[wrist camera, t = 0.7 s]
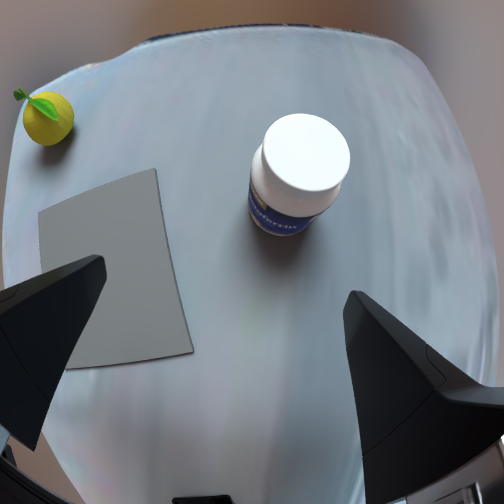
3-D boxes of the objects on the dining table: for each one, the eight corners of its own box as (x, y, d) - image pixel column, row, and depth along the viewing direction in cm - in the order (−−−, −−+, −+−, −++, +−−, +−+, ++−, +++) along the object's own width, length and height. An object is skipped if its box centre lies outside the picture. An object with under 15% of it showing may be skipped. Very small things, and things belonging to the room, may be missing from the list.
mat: (194, 350, 21) (192, 351, 20) (66, 367, 20) (62, 368, 19) (156, 170, 23) (154, 167, 22) (41, 213, 22) (38, 212, 21)
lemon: (46, 127, 23) (3, 86, 13) (83, 103, 24) (44, 53, 14) (46, 169, 22) (-9, 130, 13) (85, 144, 23) (36, 93, 13)
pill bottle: (233, 210, 22) (228, 155, 13) (273, 161, 23) (291, 89, 13) (289, 251, 22) (326, 224, 12) (326, 199, 23) (376, 146, 13)
